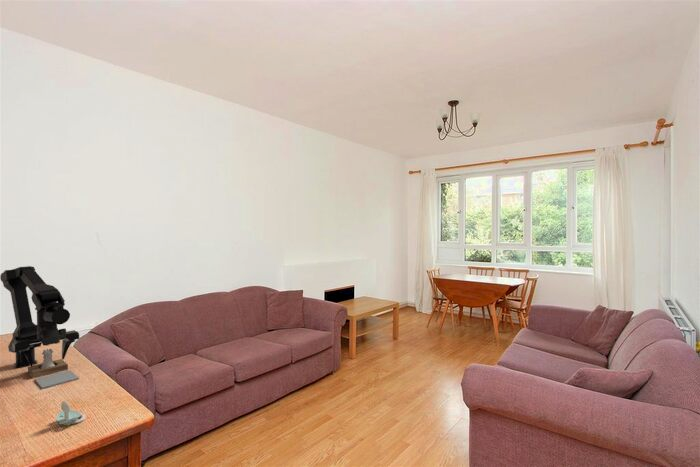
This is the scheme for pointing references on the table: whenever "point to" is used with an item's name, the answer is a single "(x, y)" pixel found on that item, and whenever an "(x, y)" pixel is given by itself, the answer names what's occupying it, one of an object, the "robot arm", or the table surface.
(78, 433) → the table surface
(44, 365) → the rook chess piece
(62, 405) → the pacifier
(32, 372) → the socket block
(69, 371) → the slate mat
